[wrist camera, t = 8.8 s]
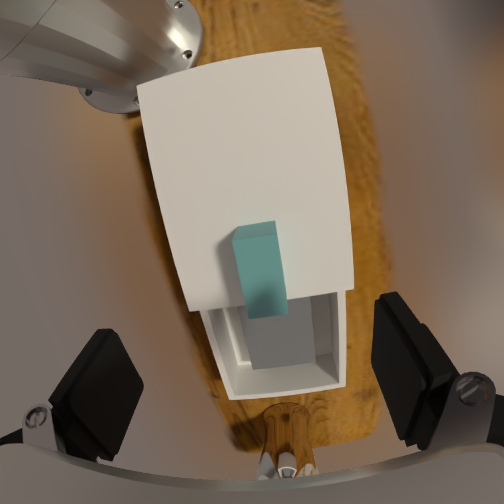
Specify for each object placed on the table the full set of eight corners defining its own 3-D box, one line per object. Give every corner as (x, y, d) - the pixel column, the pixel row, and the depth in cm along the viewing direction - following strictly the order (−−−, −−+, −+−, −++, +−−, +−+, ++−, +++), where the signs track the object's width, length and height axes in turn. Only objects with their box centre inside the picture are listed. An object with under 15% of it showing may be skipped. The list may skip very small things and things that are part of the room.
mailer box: (196, 223, 25) (180, 241, 20) (325, 202, 23) (339, 215, 19) (234, 366, 30) (229, 399, 25) (336, 353, 29) (345, 386, 24)
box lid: (139, 87, 16) (115, 77, 13) (319, 49, 15) (329, 30, 11) (191, 308, 21) (178, 335, 18) (352, 285, 20) (365, 310, 17)
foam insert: (238, 284, 26) (235, 298, 23) (305, 275, 25) (309, 288, 23) (254, 353, 28) (252, 370, 26) (312, 346, 28) (315, 362, 25)
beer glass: (265, 433, 34) (261, 528, 20) (252, 404, 32) (243, 513, 18) (315, 426, 33) (325, 522, 19) (309, 395, 31) (321, 507, 17)
